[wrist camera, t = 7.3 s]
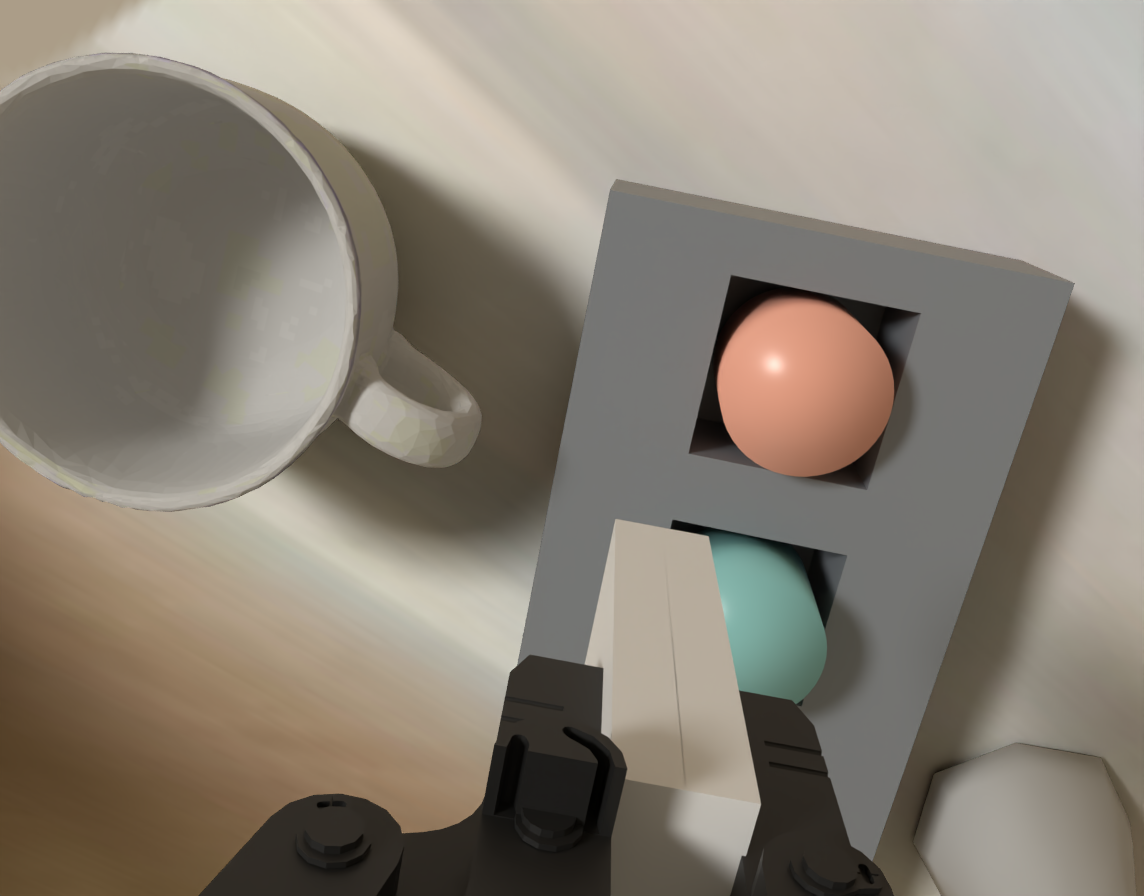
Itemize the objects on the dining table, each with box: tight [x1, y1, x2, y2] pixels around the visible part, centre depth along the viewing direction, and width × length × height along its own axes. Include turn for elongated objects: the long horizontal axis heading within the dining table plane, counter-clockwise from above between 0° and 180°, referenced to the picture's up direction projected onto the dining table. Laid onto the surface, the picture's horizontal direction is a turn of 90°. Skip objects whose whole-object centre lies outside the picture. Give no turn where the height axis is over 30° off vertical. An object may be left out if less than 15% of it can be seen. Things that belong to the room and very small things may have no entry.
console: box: [517, 179, 1075, 861], centre depth 32 cm, size 12×22×4 cm, turn 169°
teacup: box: [0, 53, 482, 512], centre depth 28 cm, size 14×11×8 cm
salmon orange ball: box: [713, 287, 894, 477], centre depth 28 cm, size 4×4×4 cm
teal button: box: [695, 527, 827, 704], centre depth 30 cm, size 4×4×4 cm
